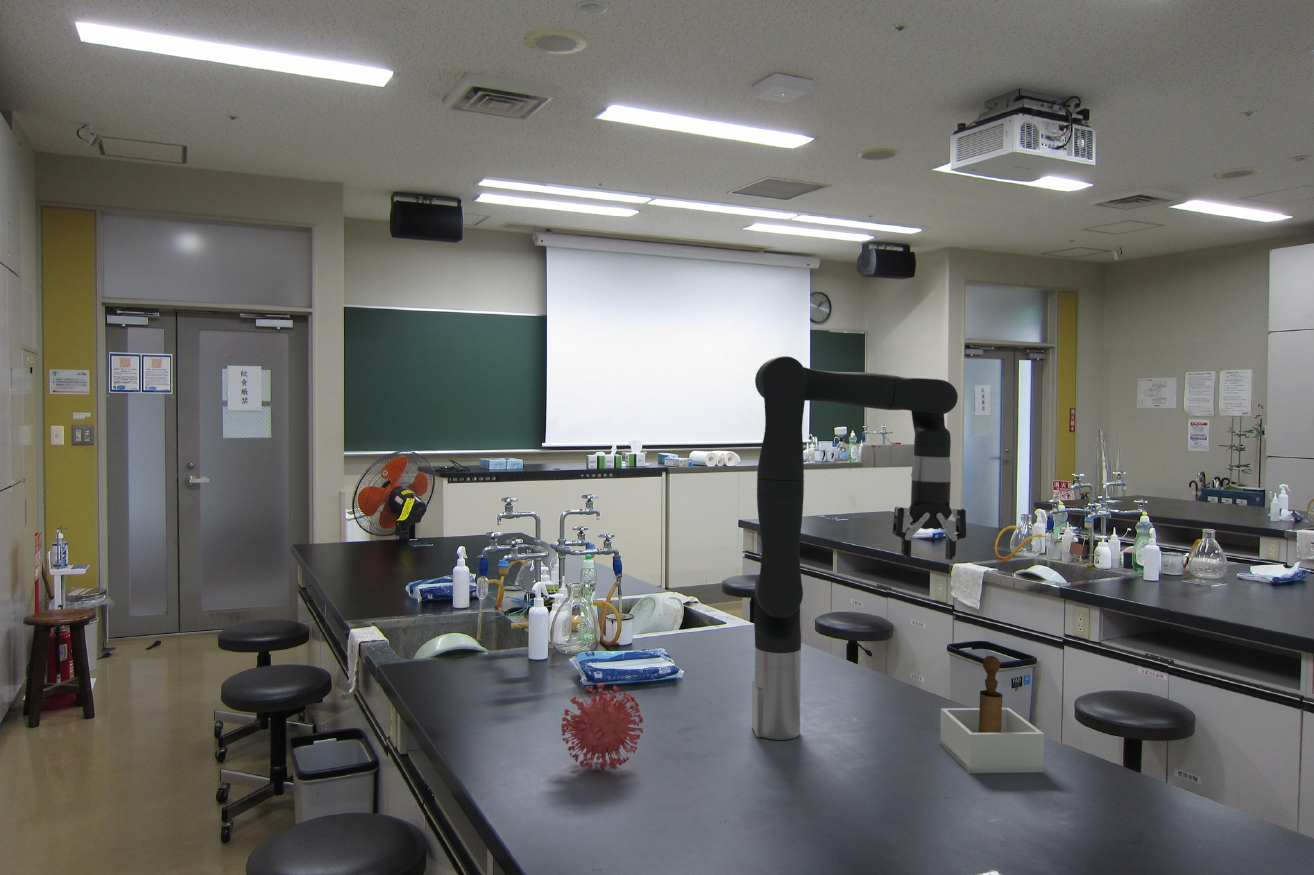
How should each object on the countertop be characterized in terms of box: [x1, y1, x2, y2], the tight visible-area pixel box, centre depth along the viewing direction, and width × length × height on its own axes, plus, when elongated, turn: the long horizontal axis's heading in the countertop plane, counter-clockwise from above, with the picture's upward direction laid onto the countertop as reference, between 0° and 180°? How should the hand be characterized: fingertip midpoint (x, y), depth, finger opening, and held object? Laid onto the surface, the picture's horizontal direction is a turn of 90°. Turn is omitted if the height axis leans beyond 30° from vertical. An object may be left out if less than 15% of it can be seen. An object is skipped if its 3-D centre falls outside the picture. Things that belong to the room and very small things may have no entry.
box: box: [939, 707, 1045, 774], centre depth 159 cm, size 14×14×7 cm
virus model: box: [560, 682, 644, 771], centre depth 153 cm, size 15×15×15 cm
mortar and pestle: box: [978, 655, 1003, 733], centre depth 159 cm, size 7×6×18 cm
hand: (928, 558), depth 172 cm, fingers open, 8 cm apart
